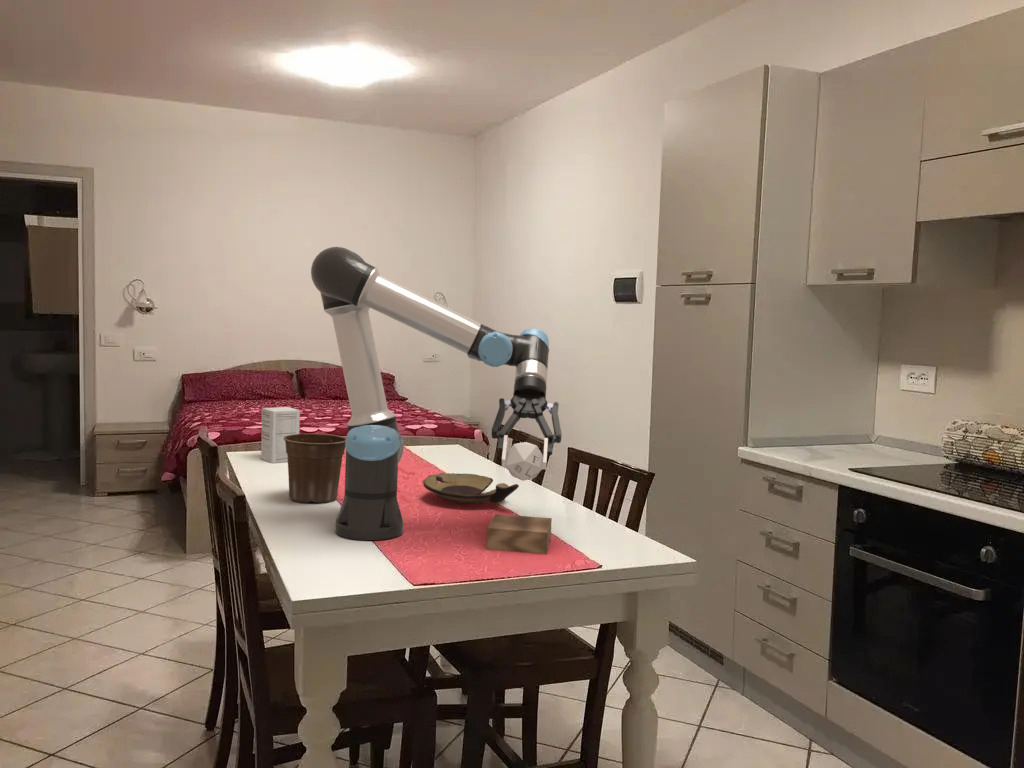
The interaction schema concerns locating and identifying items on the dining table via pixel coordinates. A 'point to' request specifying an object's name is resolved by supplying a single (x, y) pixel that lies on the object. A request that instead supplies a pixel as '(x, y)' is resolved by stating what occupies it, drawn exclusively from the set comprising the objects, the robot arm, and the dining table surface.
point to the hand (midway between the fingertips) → (524, 464)
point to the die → (524, 461)
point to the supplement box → (277, 432)
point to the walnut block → (519, 533)
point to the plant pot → (314, 466)
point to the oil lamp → (467, 488)
